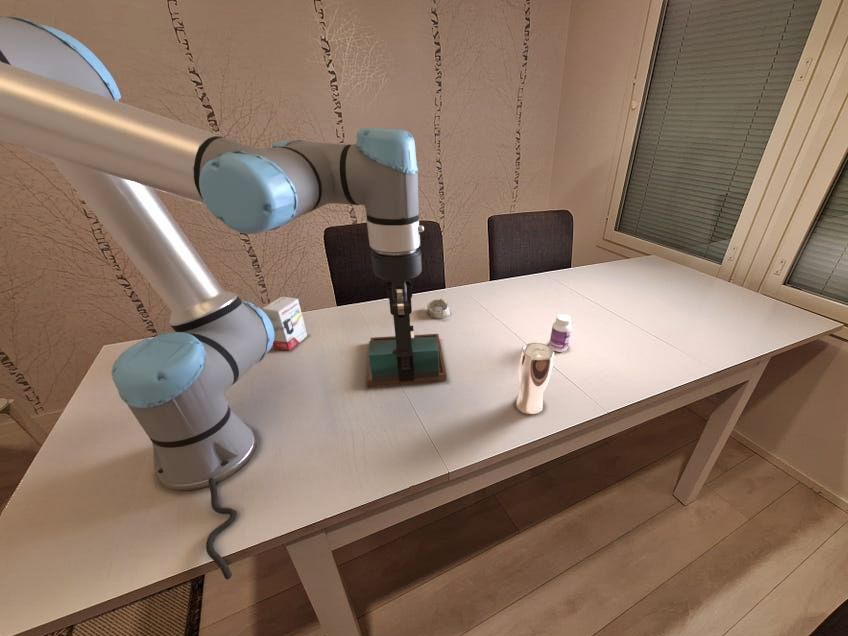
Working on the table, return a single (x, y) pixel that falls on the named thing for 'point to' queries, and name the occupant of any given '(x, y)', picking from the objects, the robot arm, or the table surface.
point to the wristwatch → (438, 303)
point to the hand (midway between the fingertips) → (406, 371)
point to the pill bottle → (560, 333)
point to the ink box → (286, 322)
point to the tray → (441, 378)
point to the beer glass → (534, 376)
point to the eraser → (386, 361)
